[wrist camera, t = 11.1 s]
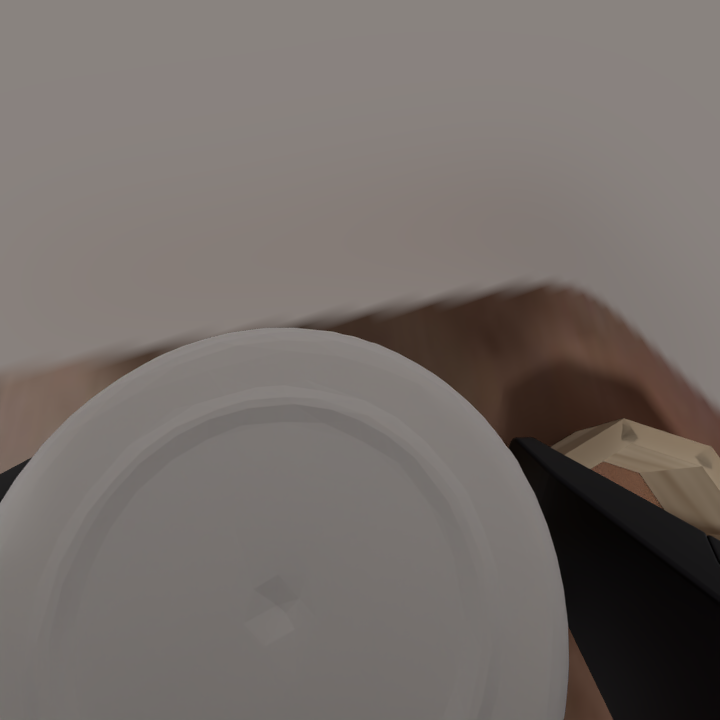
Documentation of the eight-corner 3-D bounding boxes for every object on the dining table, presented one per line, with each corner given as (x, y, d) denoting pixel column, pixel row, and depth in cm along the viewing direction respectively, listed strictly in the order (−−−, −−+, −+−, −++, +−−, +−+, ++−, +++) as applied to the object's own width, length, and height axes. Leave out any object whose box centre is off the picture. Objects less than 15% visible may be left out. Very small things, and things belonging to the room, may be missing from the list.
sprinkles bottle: (370, 467, 17) (563, 335, 4) (364, 600, 15) (648, 1099, 2) (249, 459, 16) (28, 282, 3) (231, 595, 15) (-279, 1156, 2)
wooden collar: (697, 620, 16) (780, 644, 13) (497, 555, 16) (537, 565, 13) (700, 473, 18) (773, 466, 15) (522, 414, 18) (561, 397, 15)
